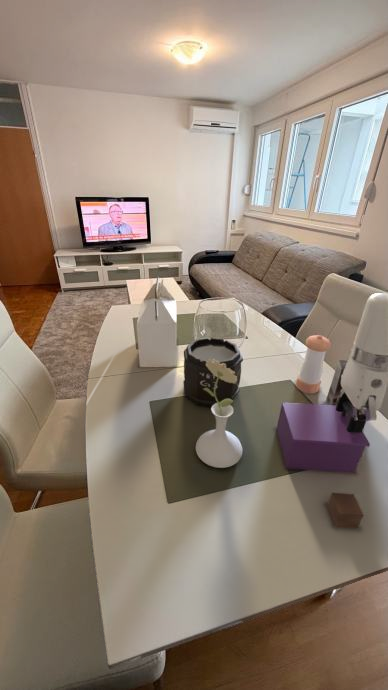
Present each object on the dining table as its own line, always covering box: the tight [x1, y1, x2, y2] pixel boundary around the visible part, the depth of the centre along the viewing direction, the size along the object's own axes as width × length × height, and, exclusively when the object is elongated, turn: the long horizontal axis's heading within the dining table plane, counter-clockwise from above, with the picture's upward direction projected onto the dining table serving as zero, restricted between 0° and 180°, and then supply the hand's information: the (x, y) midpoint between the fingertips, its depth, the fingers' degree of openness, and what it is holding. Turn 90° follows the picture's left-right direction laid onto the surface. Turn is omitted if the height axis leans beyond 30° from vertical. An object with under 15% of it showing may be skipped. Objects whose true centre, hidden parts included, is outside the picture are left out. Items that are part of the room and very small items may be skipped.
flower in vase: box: [195, 359, 243, 469], centre depth 68 cm, size 13×11×25 cm
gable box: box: [136, 276, 178, 368], centre depth 110 cm, size 22×13×28 cm, turn 3°
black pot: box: [183, 337, 244, 408], centre depth 92 cm, size 18×18×16 cm
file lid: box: [281, 401, 371, 448], centre depth 69 cm, size 16×13×5 cm
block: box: [326, 492, 364, 529], centre depth 59 cm, size 4×4×4 cm
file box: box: [276, 405, 366, 474], centre depth 73 cm, size 16×13×9 cm
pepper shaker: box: [295, 334, 331, 394], centre depth 94 cm, size 7×7×19 cm
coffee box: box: [324, 359, 366, 415], centre depth 84 cm, size 9×6×16 cm
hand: (348, 420), depth 70 cm, fingers closed on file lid, 6 cm apart
